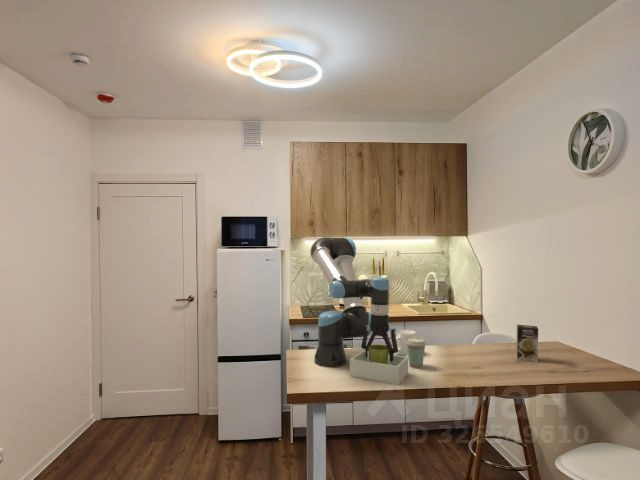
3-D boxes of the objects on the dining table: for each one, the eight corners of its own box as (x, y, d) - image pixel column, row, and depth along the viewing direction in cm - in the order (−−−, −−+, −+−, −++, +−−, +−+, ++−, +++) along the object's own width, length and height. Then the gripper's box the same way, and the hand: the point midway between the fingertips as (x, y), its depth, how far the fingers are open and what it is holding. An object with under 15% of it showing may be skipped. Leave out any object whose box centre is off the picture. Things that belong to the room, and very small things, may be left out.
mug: (403, 358, 195) (403, 336, 195) (387, 353, 203) (387, 332, 203) (421, 353, 203) (421, 332, 203) (405, 349, 211) (405, 328, 211)
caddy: (349, 375, 169) (349, 359, 169) (362, 365, 183) (362, 350, 183) (398, 384, 160) (398, 366, 160) (408, 373, 173) (408, 357, 173)
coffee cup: (426, 369, 178) (426, 342, 178) (406, 368, 180) (406, 341, 180) (425, 363, 186) (425, 338, 186) (406, 362, 188) (406, 337, 188)
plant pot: (372, 372, 166) (372, 351, 166) (365, 364, 175) (365, 345, 175) (393, 370, 168) (393, 349, 168) (385, 363, 177) (385, 344, 177)
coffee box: (516, 360, 193) (517, 326, 193) (515, 356, 199) (516, 324, 199) (538, 362, 190) (538, 328, 190) (536, 358, 196) (536, 325, 196)
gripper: (353, 313, 173) (352, 365, 173) (401, 317, 163) (401, 373, 163) (359, 310, 179) (359, 360, 180) (406, 314, 170) (405, 368, 170)
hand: (379, 366), depth 171 cm, fingers closed on plant pot, 8 cm apart
